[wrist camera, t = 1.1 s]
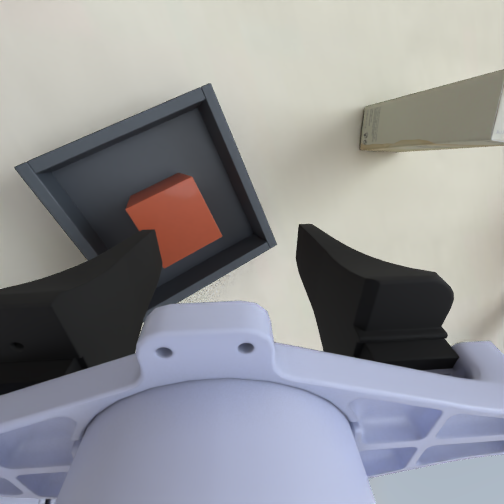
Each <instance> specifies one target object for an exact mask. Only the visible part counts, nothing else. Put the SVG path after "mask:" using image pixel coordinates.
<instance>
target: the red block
mask: <svg viewBox="0 0 504 504" xmlns="http://www.w3.org/2000/svg"><path fill="white" fill-rule="evenodd" d="M125 210H126V212H127V213H128V215H129V216H130V218H131V219H132V221H133V222H134V224H135V225H136V227H137V228H138V230H139V231H141V230H151V229H155V232H156V236H157V241H158V245H159V249H160V254H161V258H162V263H163V265H162V266H163V268H166V267H168V266H170V265H172V264H174V263H175V262H177V261H179V260H181V259H183V258H185V257H186V256H188V255H190V254H192V253H194V252H195V251H197V250H199V249H201V248H203V247H204V246H206V245H208V244H210V243H212V242H214V241H215V240H217V239H219V238H221V237H222V234H221V232H220V230H219V228H218V226H217V224H216V222H215V220H214V218H213V216H212V214H211V213H210V211H209V209H208V207H207V205H206V203H205V201H204V199H203V197H202V195H201V193H200V191H199V189H198V187H197V185H196V183H195V181H194V179H193V177H192V176H189V175H185V174H182V173H177V174H175V175H173V176H171V177H168V178H166V179H164V180H162V181H160V182H158V183H156V184H154V185H152V186H150V187H148V188H146V189H144V190H142V191H140V192H138V193H136V194H133V195H131V196H130V199H129V201H128V204H127V206H126V209H125Z"/></svg>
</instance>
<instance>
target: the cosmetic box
mask: <svg viewBox="0 0 504 504" xmlns="http://www.w3.org/2000/svg"><path fill="white" fill-rule="evenodd" d="M488 146H504V69H503V70H499V71H496V72H492V73H488V74H484V75H481V76H477V77H473V78H470V79H466V80H462V81H458V82H455V83H451V84H447V85H443V86H440V87H436V88H432V89H429V90H425V91H421V92H417V93H414V94H410V95H406V96H402V97H399V98H395V99H391V100H388V101H384V102H380V103H376V104H373V105H369V106H366V107H365V111H364V119H363V127H362V136H361V146H360V150H368V151H386V152H407V151H425V150H441V149H457V148H472V147H488Z"/></svg>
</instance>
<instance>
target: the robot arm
mask: <svg viewBox="0 0 504 504" xmlns="http://www.w3.org/2000/svg"><path fill="white" fill-rule="evenodd" d="M296 262H297V266H298V271H299V274H300V277H301V280H302V282H303V285H304V287H305V290H306V292H307V295H308V298H309V300H310V303H311V305H312V308H313V311H314V314H315V318H316V322H317V326H318V329H319V334H320V338H321V342H322V346H323V351H324V352H323V351H318V350H313V349H308V348H303V347H297V346H292V345H287V344H282V343H277V342H274V339H273V332H272V326H271V320H270V318H269V315H268V312H267V310H265V309H264V308H262V307H261V306H260V305H258V304H257V303H252V302H246V301H223V302H201V303H180V304H169V305H165V306H161V307H157V308H155V309H154V310H153V311H152V312H151V313H150V314H149V315H148V316H147V317H146V320H145V322H144V325H143V328H142V330H141V327H142V323H143V320H144V317H145V314H146V312H147V309H148V307H149V304H150V302H151V299H152V297H153V294H154V292H155V289H156V287H157V284H158V281H159V278H160V274H161V270H162V265H163V263H162V258H161V254H160V249H159V245H158V241H157V236H156V232H155V229H151V230H141V231H139V232H137V233H135V234H134V235H132V236H130V237H129V238H127V239H125V240H124V241H122V242H121V243H119V244H117V245H116V246H114V247H112V248H111V249H109V250H107V251H105V252H104V253H102V254H100V255H98V256H97V257H95V258H93V259H91V260H89V261H86V262H84V263H82V264H80V265H78V266H75V267H73V268H70V269H67V270H65V271H62V272H60V273H57V274H54V275H51V276H48V277H45V278H42V279H39V280H35V281H32V282H28V283H24V284H20V285H16V286H12V287H7V288H3V289H0V504H376V501H375V498H374V495H373V492H372V489H371V486H370V483H369V480H368V478H373V477H378V476H383V475H388V474H392V473H397V472H402V471H407V470H411V469H417V468H421V467H426V466H431V465H436V464H441V463H447V462H452V461H457V460H463V459H470V458H477V457H484V456H494V455H504V354H503V353H502V352H501V351H500V350H499V349H498V348H497V347H496V346H495V345H494V344H493V343H492V342H491V341H475V342H461V343H457V344H455V345H453V346H452V347H451V346H450V345H449V344H448V343H447V341H446V340H445V339H444V338H447V336H448V335H447V333H446V331H445V330H444V329H443V328H442V327H441V326H442V324H443V322H444V320H445V318H446V316H447V314H448V312H449V311H450V309H451V306H452V303H453V300H454V293H453V291H452V289H451V287H450V286H449V285H448V284H447V283H446V282H445V281H444V280H443V279H442V278H441V277H440V276H439V275H438V274H437V273H436V272H431V271H425V270H419V269H414V268H408V267H404V266H400V265H396V264H392V263H389V262H385V261H382V260H379V259H376V258H373V257H371V256H368V255H365V254H363V253H361V252H359V251H356V250H354V249H352V248H350V247H348V246H346V245H345V244H343V243H341V242H339V241H338V240H336V239H334V238H333V237H331V236H329V235H328V234H326V233H325V232H323V231H322V230H320V229H319V228H317V227H316V226H314V225H312V224H299V228H298V239H297V250H296ZM140 331H141V333H140ZM139 334H140V336H139ZM138 338H139V339H138ZM135 351H136V353H135Z"/></svg>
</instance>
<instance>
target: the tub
mask: <svg viewBox="0 0 504 504" xmlns="http://www.w3.org/2000/svg"><path fill="white" fill-rule="evenodd" d="M14 168H15V170H16V171H17V172H18V173H19V175H20V176H21V177H22V178H23V180H24V181H25V182H26V183H27V185H28V186H29V187H30V189H31V190H32V191H33V192H34V194H35V195H36V196H37V197H38V199H39V200H40V201H41V202H42V204H43V205H44V206H45V207H46V209H47V210H48V211H49V212H50V214H51V215H52V216H53V217H54V219H55V220H56V221H57V222H58V224H59V225H60V226H61V227H62V229H63V230H64V231H65V232H66V234H67V235H68V236H69V237H70V239H71V240H72V241H73V242H74V244H75V245H76V246H77V247H78V249H79V250H80V251H81V252H82V254H83V255H84V256H85V258H86V259H87V260H88V261H89V260H91V259H93V258H95V257H97V256H98V255H100V254H102V253H104V252H105V251H107V250H109V249H111V248H112V247H114V246H116V245H117V244H119V243H121V242H122V241H124V240H125V239H127V238H129V237H130V236H132V235H134V234H135V233H137V232H139V230H138V228H137V227H136V225H135V224H134V222H133V221H132V219H131V218H130V216H129V215H128V213H127V212H126V210H125V209H126V206H127V204H128V201H129V199H130V196H131V195H133V194H136V193H138V192H140V191H142V190H144V189H146V188H148V187H150V186H152V185H154V184H156V183H158V182H160V181H162V180H164V179H166V178H168V177H171V176H173V175H175V174H177V173H182V174H185V175H189V176H192V177H193V179H194V181H195V183H196V185H197V187H198V189H199V191H200V193H201V195H202V197H203V199H204V201H205V203H206V205H207V207H208V209H209V211H210V213H211V214H212V216H213V218H214V220H215V222H216V224H217V226H218V228H219V230H220V232H221V234H222V237H221V238H219V239H217V240H215V241H214V242H212V243H210V244H208V245H206V246H204V247H203V248H201V249H199V250H197V251H195V252H194V253H192V254H190V255H188V256H186V257H185V258H183V259H181V260H179V261H177V262H175V263H174V264H172V265H170V266H168V267H166V268H163V266H162V270H161V274H160V278H159V281H158V284H157V287H156V289H155V292H154V294H153V297H152V299H151V302H150V304H149V307H148V309H147V312H146V314H145V317H144V320H143V322H145V320H146V317H147V316H148V315H149V314H150V313H151V312H152V311H153V310H154V309H155V308H157V307H161V306H165V305H169V304H176V303H178V302H180V301H181V300H183V299H185V298H186V297H188V296H190V295H192V294H193V293H195V292H197V291H198V290H200V289H202V288H204V287H205V286H207V285H209V284H211V283H212V282H214V281H216V280H217V279H219V278H221V277H223V276H224V275H226V274H228V273H229V272H231V271H233V270H235V269H236V268H238V267H240V266H241V265H243V264H245V263H247V262H248V261H250V260H252V259H253V258H255V257H257V256H259V255H260V254H262V253H264V252H265V251H267V250H269V249H270V248H272V247H274V246H276V245H277V243H276V241H275V238H274V236H273V233H272V231H271V228H270V226H269V224H268V221H267V219H266V216H265V214H264V211H263V209H262V207H261V204H260V202H259V199H258V197H257V194H256V192H255V190H254V187H253V185H252V182H251V180H250V177H249V175H248V173H247V170H246V168H245V165H244V163H243V160H242V158H241V156H240V153H239V151H238V148H237V146H236V143H235V141H234V139H233V136H232V134H231V131H230V129H229V126H228V124H227V122H226V119H225V117H224V114H223V112H222V109H221V107H220V105H219V102H218V100H217V97H216V95H215V92H214V90H213V88H212V85H211V83H209V84H206V85H204V86H202V87H201V88H200V87H199V88H197V89H195V90H192V91H190V92H188V93H185V94H183V95H181V96H178V97H176V98H174V99H171V100H169V101H167V102H164V103H162V104H160V105H157V106H155V107H153V108H150V109H148V110H146V111H143V112H141V113H139V114H136V115H134V116H132V117H129V118H127V119H125V120H122V121H120V122H118V123H115V124H113V125H111V126H108V127H106V128H104V129H101V130H99V131H97V132H94V133H92V134H90V135H87V136H85V137H83V138H81V139H78V140H76V141H74V142H71V143H69V144H67V145H64V146H62V147H60V148H57V149H55V150H53V151H50V152H48V153H46V154H43V155H41V156H39V157H36V158H34V159H32V160H29V161H27V162H25V163H22V164H20V165H18V166H15V167H14Z"/></svg>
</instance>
